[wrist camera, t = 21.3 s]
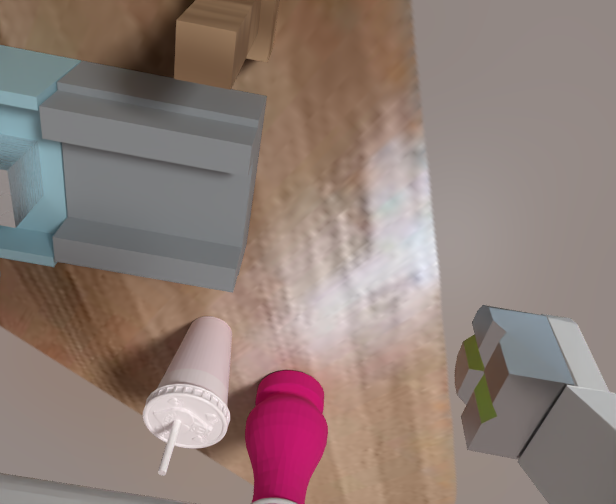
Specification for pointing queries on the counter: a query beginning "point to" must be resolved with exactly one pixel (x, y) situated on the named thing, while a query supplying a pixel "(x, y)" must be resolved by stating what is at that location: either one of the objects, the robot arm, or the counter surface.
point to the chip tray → (26, 124)
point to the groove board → (154, 173)
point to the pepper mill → (285, 436)
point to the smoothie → (193, 391)
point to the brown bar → (223, 39)
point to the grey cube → (18, 179)
